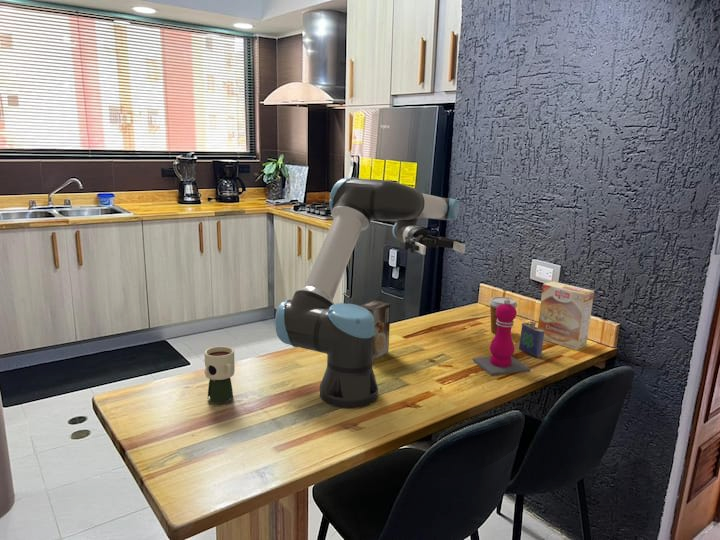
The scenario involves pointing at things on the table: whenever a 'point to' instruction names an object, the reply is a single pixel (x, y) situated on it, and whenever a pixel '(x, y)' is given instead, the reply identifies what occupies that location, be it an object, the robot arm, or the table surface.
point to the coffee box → (380, 326)
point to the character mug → (219, 373)
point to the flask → (531, 339)
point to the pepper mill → (503, 336)
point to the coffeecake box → (565, 314)
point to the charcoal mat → (495, 370)
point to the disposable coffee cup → (493, 305)
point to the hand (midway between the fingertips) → (444, 249)
